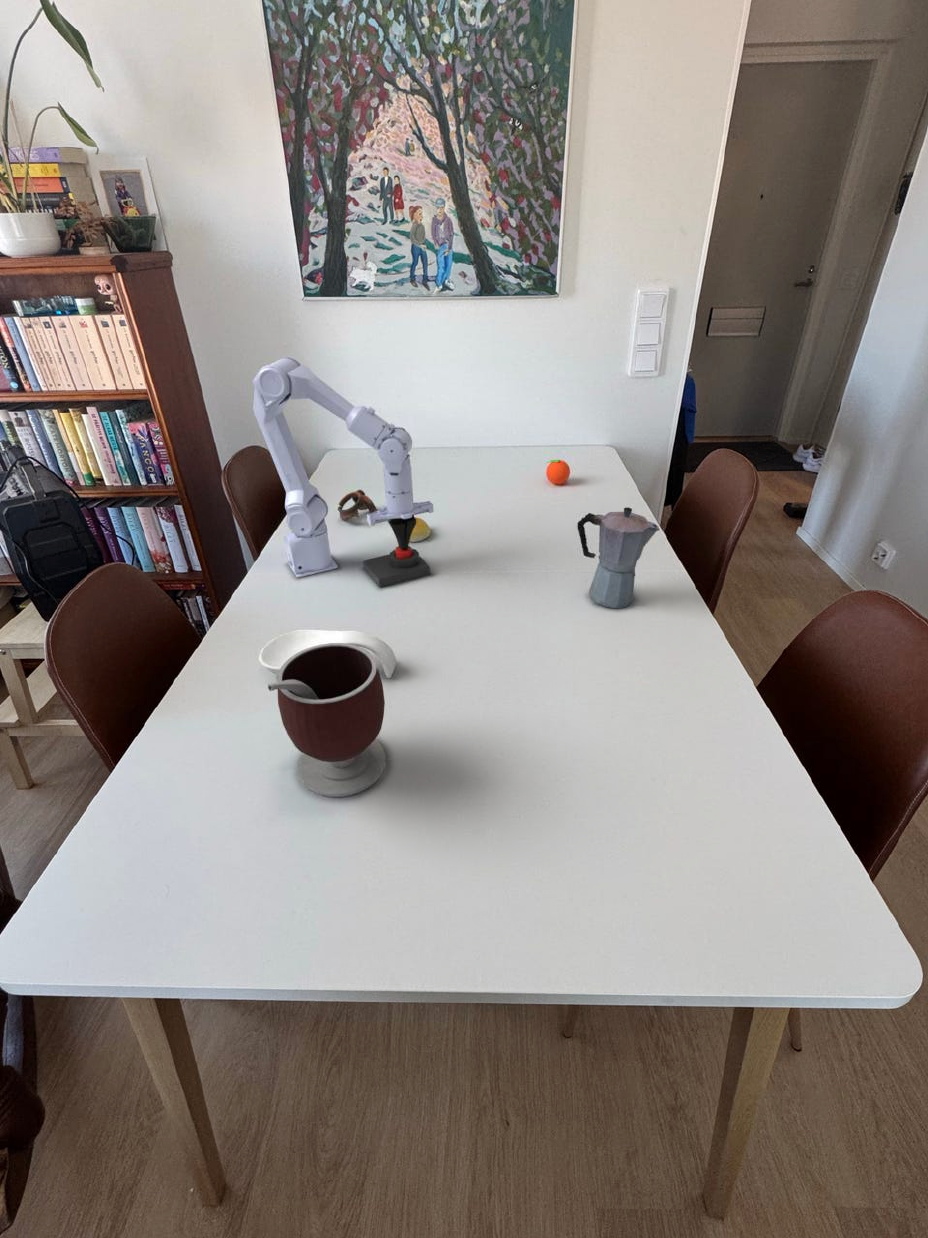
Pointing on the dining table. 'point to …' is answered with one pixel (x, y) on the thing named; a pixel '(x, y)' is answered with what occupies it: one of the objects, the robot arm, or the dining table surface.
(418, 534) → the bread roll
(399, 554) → the power button
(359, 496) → the brown looped frame
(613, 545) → the moka pot
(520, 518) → the dining table surface
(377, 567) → the push button base
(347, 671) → the mate gourd
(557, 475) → the clementine
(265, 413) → the robot arm
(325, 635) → the spoon rest
